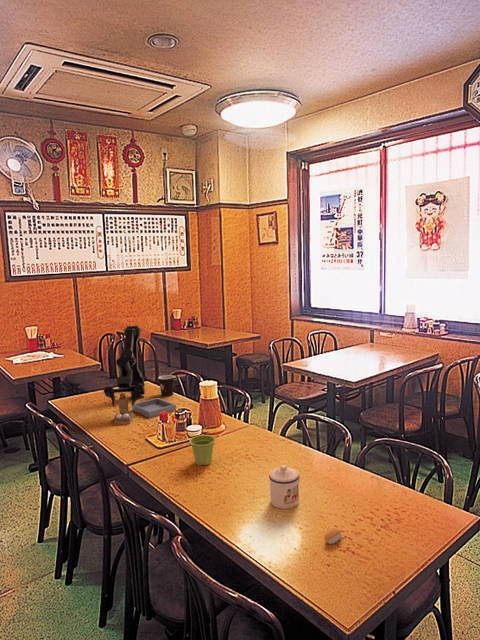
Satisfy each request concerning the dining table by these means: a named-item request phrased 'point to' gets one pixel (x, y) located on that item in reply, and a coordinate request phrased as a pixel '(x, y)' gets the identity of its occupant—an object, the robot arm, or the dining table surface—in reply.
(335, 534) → the sushi
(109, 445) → the dining table surface
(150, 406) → the bin
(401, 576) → the dining table surface
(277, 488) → the teacup with lid
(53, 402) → the dining table surface
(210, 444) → the plant pot
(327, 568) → the dining table surface
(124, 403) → the brown wooden box
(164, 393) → the coffee mug
